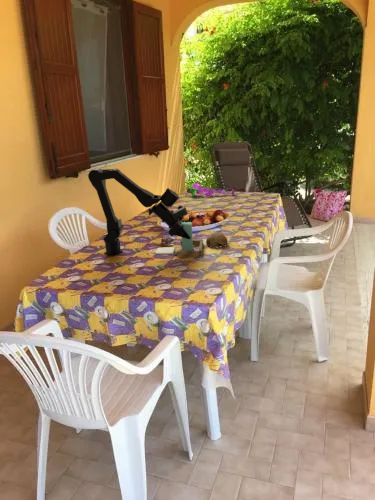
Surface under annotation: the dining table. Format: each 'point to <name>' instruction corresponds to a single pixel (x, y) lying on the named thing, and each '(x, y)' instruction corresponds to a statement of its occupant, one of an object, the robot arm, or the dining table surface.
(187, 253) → the walnut frame
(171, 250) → the white tile
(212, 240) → the bread roll
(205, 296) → the dining table surface
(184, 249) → the teal block
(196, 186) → the purple flower spray
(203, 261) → the dining table surface
